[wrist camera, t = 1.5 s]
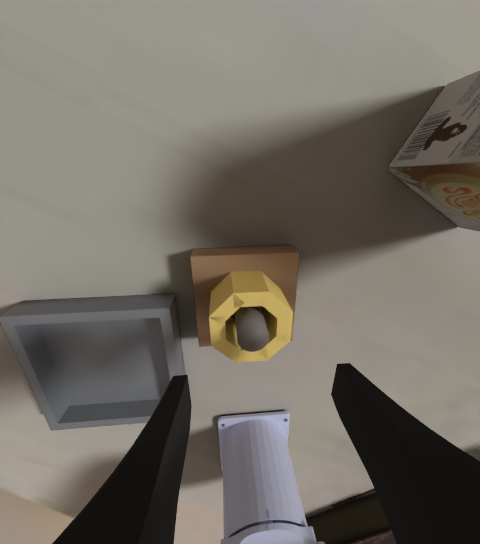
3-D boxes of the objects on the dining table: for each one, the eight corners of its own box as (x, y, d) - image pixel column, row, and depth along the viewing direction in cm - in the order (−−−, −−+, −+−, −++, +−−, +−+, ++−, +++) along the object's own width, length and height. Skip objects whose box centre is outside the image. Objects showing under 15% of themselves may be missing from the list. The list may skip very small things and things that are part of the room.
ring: (278, 329, 20) (289, 358, 17) (213, 332, 20) (212, 363, 16) (281, 269, 18) (294, 290, 15) (209, 272, 18) (207, 294, 14)
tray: (188, 397, 25) (185, 419, 23) (66, 406, 24) (50, 430, 22) (174, 293, 20) (169, 308, 18) (23, 300, 19) (-3, 316, 17)
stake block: (286, 327, 22) (310, 382, 16) (200, 332, 22) (193, 391, 16) (291, 245, 19) (324, 276, 13) (193, 248, 19) (180, 282, 13)
